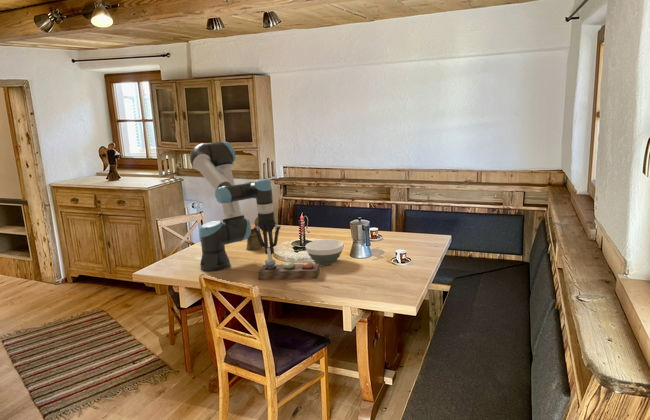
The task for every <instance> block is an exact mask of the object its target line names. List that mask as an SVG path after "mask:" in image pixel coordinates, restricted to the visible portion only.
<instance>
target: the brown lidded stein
mask: <svg viewBox="0 0 650 420" xmlns="http://www.w3.org/2000/svg"><path fill="white" fill-rule="evenodd" d="M254 219H255V220H254V225H255V226H254V227H256V226H258V216H257V217H256V218H254ZM259 230H260V231H261V229H260V228H259ZM262 248H263V247H261V246H260V243H259V240H258V237H257V234H256V232H255V231H254V228H251V233H250V236H249V238H248V239H246V250H247V251H258V250H261V249H262Z"/></svg>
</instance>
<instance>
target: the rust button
mask: <svg viewBox="0 0 650 420" xmlns="http://www.w3.org/2000/svg"><path fill="white" fill-rule="evenodd" d="M302 264H303V268H305V269H311V267H313V264H314V263H313V262H311V261H306V262H302Z"/></svg>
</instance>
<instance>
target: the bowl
mask: <svg viewBox="0 0 650 420" xmlns="http://www.w3.org/2000/svg"><path fill="white" fill-rule="evenodd" d="M344 247H345V243H344V242H343V241H342V240H339V239H332V238H331V239H330V238H329V239H318V240H313V241H310V242H307V244H305V250H306V253H307V254H308V256H309V257H310V258H311V259H312V261H313V262H314V264H320V266H323V267H324V266H331V265H333V264H336V263H337V261H338V259H339V258H340V256H341V254H342V252H343V250H344Z"/></svg>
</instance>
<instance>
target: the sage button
mask: <svg viewBox="0 0 650 420" xmlns="http://www.w3.org/2000/svg"><path fill="white" fill-rule="evenodd" d="M283 264H284V268H286V269H293V267H294V264H295V263H294V262H292V261H290V262H285V263H283Z"/></svg>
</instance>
